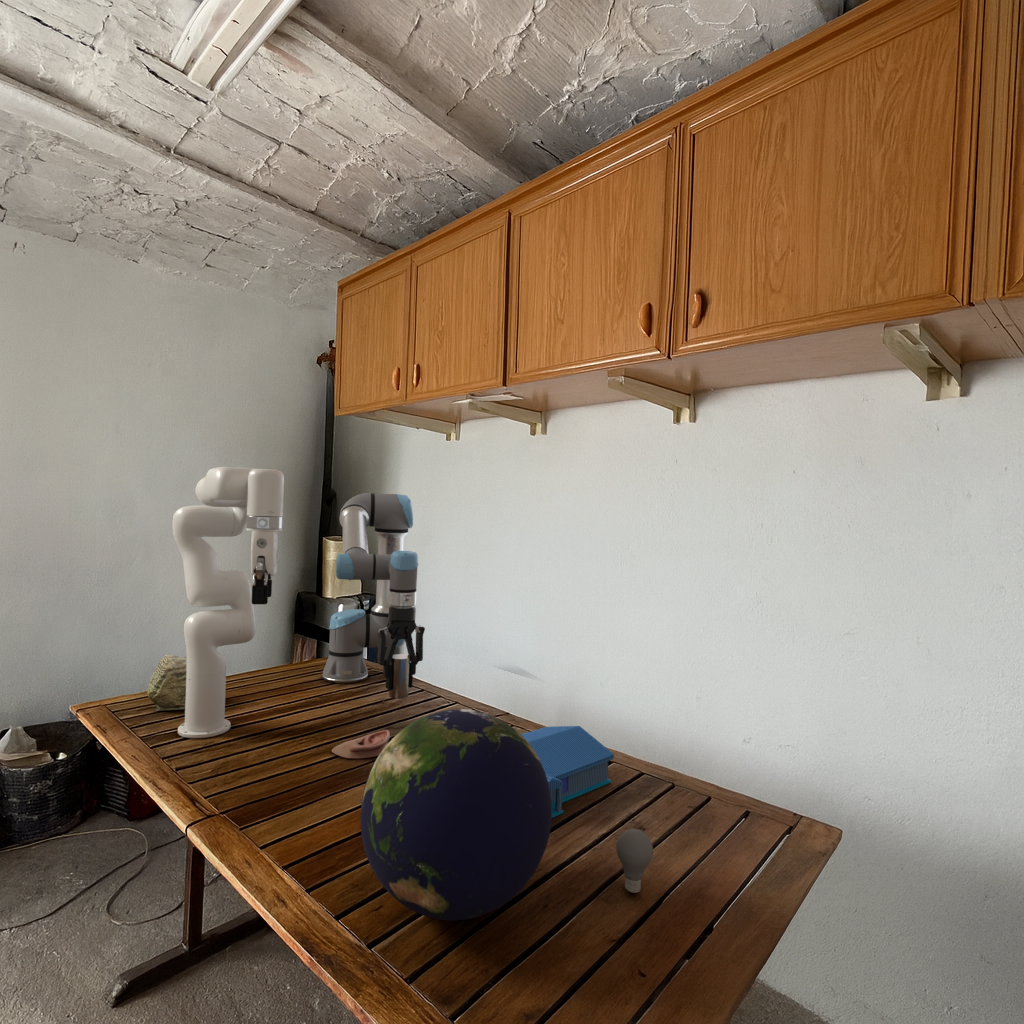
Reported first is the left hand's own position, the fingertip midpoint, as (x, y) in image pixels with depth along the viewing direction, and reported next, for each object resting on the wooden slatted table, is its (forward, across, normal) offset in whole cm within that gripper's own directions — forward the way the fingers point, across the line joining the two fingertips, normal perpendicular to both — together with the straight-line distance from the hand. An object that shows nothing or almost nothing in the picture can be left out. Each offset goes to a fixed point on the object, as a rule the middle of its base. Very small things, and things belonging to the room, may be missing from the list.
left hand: (261, 600), depth 142 cm
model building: (+40, -19, -57) cm, 72 cm away
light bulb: (+40, -57, -65) cm, 95 cm away
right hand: (+29, +28, -35) cm, 54 cm away
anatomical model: (+40, +10, -24) cm, 47 cm away
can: (+32, +28, -35) cm, 55 cm away
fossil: (+40, +51, +25) cm, 69 cm away
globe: (+40, -54, -35) cm, 75 cm away
